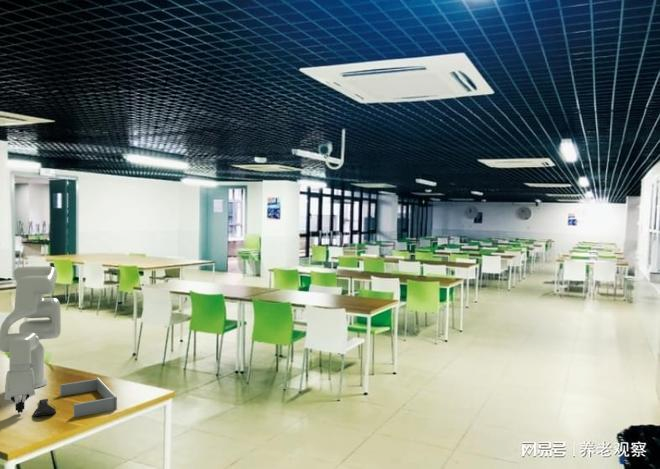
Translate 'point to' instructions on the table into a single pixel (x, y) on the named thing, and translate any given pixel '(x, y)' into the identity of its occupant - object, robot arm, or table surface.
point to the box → (91, 406)
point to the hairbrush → (44, 409)
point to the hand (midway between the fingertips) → (19, 411)
